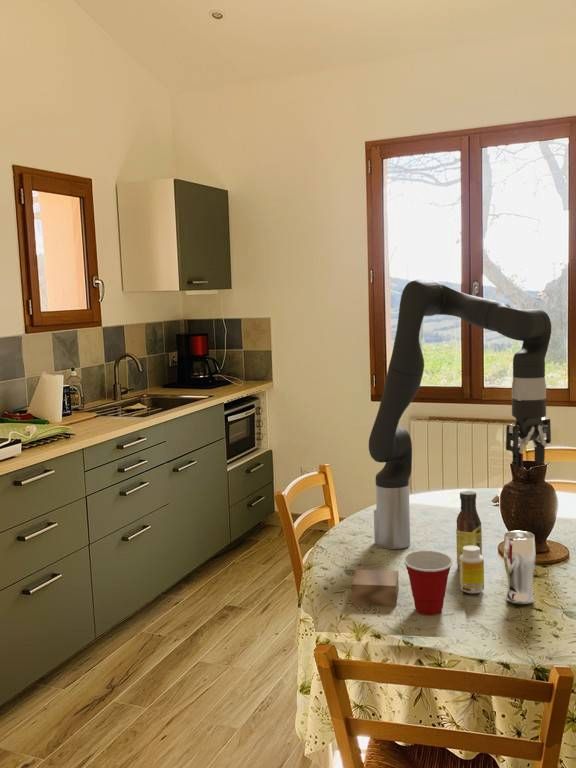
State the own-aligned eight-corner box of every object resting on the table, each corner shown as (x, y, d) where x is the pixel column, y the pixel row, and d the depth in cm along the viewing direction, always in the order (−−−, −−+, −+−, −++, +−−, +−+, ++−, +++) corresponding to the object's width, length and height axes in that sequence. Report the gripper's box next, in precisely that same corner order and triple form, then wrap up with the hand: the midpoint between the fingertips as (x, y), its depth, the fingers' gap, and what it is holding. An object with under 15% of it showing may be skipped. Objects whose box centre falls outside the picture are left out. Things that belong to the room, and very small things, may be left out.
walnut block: (352, 605, 172) (351, 584, 171) (356, 589, 182) (356, 569, 181) (396, 607, 170) (395, 585, 169) (398, 590, 180) (398, 570, 179)
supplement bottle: (488, 592, 176) (487, 550, 175) (466, 595, 174) (465, 552, 173) (477, 584, 181) (476, 543, 180) (455, 587, 180) (455, 545, 179)
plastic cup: (411, 622, 161) (410, 568, 160) (399, 603, 171) (397, 552, 170) (460, 618, 162) (459, 564, 161) (445, 599, 172) (444, 548, 171)
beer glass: (531, 607, 166) (531, 541, 165) (500, 601, 170) (499, 537, 168) (539, 596, 172) (538, 532, 171) (508, 591, 176) (508, 528, 174)
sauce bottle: (482, 574, 188) (481, 496, 186) (457, 573, 189) (455, 496, 187) (481, 565, 194) (480, 489, 192) (456, 564, 195) (455, 489, 193)
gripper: (532, 392, 180) (532, 458, 182) (496, 398, 171) (496, 468, 173) (560, 394, 174) (560, 463, 176) (524, 401, 165) (524, 473, 167)
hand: (528, 465), depth 174 cm, fingers open, 8 cm apart
